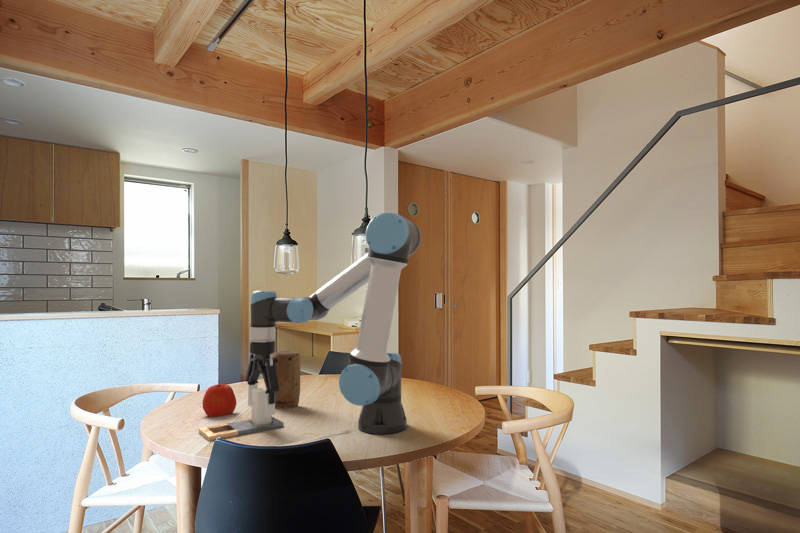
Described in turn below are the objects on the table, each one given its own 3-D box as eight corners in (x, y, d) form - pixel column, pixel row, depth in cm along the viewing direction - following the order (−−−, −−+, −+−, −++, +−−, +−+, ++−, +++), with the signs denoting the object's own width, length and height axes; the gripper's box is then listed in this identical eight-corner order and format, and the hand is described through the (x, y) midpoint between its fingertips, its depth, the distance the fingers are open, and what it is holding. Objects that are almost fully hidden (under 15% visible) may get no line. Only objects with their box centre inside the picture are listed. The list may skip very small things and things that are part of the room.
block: (301, 405, 173) (302, 350, 174) (296, 410, 165) (296, 353, 166) (272, 404, 173) (273, 350, 174) (265, 409, 166) (266, 353, 167)
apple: (202, 412, 162) (203, 381, 163) (235, 409, 166) (236, 379, 166) (201, 420, 152) (202, 387, 153) (236, 417, 156) (237, 385, 156)
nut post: (271, 426, 143) (271, 389, 144) (257, 428, 140) (257, 391, 141) (265, 422, 147) (266, 387, 147) (251, 425, 144) (252, 389, 144)
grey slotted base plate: (283, 429, 143) (283, 422, 143) (208, 444, 129) (209, 436, 129) (270, 422, 150) (270, 415, 151) (198, 435, 137) (198, 428, 137)
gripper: (291, 343, 137) (290, 416, 136) (258, 336, 157) (257, 400, 156) (267, 345, 133) (265, 421, 132) (236, 337, 152) (234, 403, 151)
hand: (260, 410), depth 144 cm, fingers open, 13 cm apart
